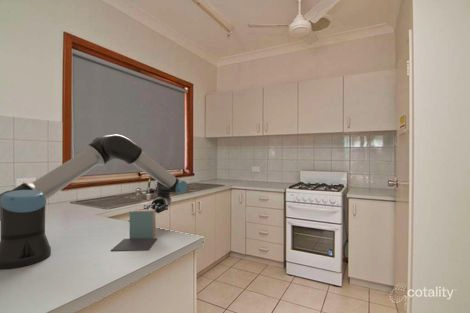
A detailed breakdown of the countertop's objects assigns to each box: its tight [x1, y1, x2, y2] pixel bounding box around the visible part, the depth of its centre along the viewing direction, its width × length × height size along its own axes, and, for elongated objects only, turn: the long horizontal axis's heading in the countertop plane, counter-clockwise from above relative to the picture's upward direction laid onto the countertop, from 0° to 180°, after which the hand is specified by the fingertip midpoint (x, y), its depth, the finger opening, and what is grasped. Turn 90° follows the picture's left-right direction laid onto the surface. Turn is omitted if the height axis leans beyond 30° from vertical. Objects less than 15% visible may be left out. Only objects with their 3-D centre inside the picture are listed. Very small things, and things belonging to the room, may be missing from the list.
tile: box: [128, 208, 157, 239], centre depth 106 cm, size 4×10×12 cm, turn 94°
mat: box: [110, 237, 158, 252], centre depth 97 cm, size 13×14×1 cm
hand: (147, 214), depth 112 cm, fingers closed
